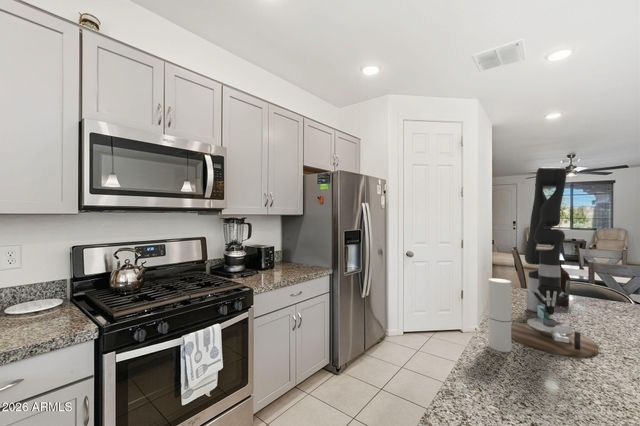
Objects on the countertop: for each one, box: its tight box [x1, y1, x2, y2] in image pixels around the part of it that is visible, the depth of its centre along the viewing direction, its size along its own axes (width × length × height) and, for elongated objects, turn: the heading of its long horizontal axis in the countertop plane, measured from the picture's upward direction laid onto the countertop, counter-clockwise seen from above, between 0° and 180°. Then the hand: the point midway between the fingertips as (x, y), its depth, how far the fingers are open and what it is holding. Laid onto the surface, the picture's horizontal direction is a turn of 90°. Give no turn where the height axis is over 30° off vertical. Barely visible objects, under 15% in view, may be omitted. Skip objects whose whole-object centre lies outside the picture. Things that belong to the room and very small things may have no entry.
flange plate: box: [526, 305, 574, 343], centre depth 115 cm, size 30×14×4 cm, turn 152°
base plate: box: [511, 322, 599, 358], centre depth 113 cm, size 28×28×8 cm
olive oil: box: [556, 259, 571, 307], centre depth 160 cm, size 11×11×25 cm
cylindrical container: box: [488, 277, 512, 353], centre depth 107 cm, size 7×7×25 cm
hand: (549, 314), depth 124 cm, fingers closed
